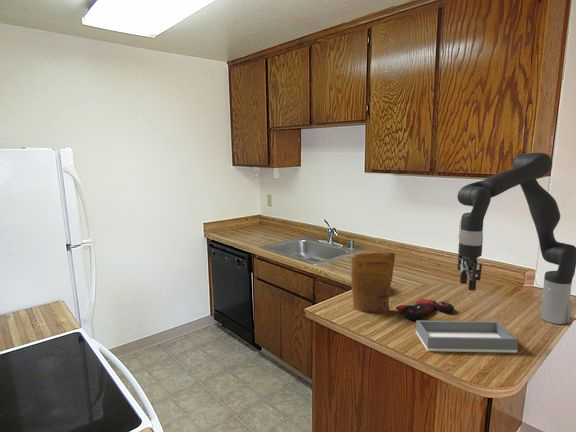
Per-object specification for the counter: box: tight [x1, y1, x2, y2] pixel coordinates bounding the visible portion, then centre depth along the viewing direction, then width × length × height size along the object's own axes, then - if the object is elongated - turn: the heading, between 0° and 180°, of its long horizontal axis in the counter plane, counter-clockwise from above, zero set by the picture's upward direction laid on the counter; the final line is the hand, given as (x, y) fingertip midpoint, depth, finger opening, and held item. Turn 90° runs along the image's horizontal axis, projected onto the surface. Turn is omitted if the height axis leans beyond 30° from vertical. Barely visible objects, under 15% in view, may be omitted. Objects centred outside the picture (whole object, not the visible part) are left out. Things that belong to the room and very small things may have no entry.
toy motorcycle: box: [395, 298, 455, 321], centre depth 161 cm, size 25×5×16 cm
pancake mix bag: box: [350, 251, 396, 314], centre depth 159 cm, size 7×19×28 cm, turn 84°
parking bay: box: [415, 320, 519, 354], centre depth 134 cm, size 31×14×5 cm, turn 87°
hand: (467, 286), depth 131 cm, fingers open, 6 cm apart
